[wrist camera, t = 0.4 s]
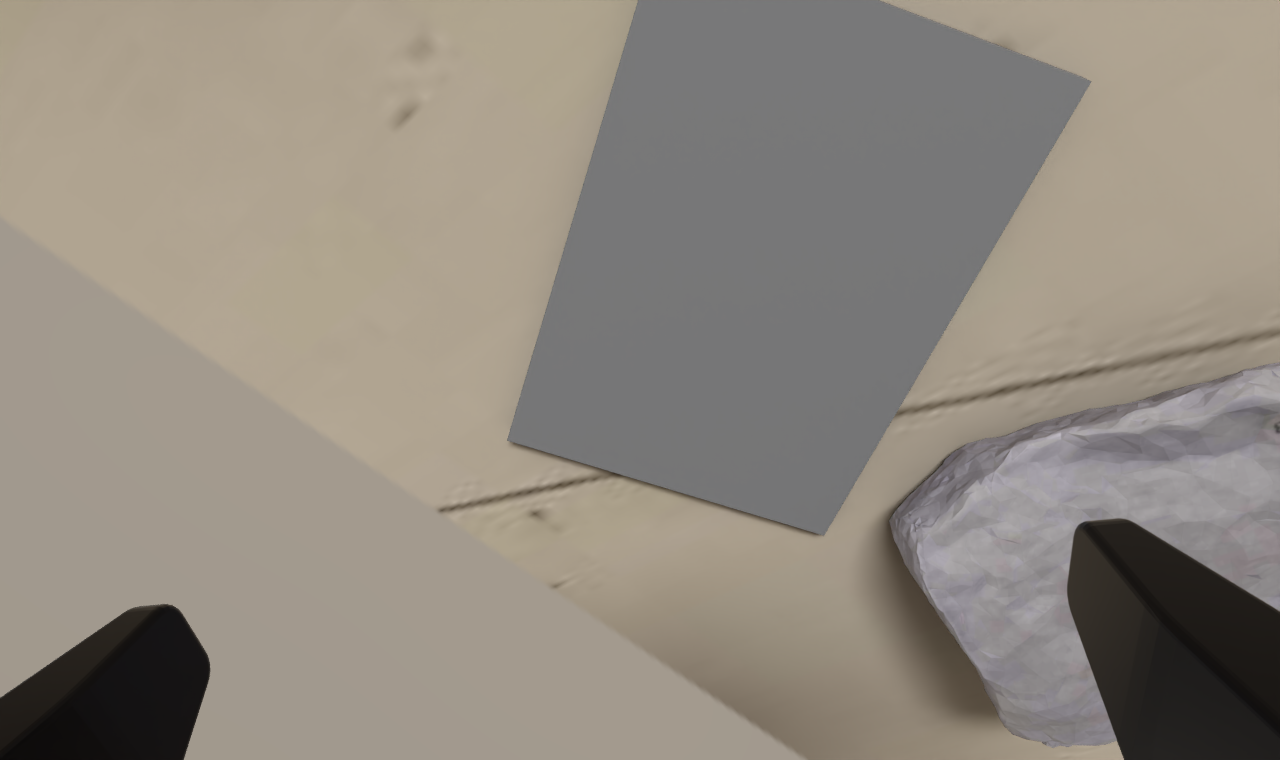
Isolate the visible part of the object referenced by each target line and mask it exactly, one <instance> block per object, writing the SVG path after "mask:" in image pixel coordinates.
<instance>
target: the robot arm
mask: <svg viewBox="0 0 1280 760" xmlns="http://www.w3.org/2000/svg"><path fill="white" fill-rule="evenodd" d="M1067 597H1068V603H1069V608H1070V611H1071V614H1072V617H1073V620H1074V623H1075V626H1076V628H1077V631H1078V634H1079V637H1080V639H1081V642H1082V645H1083V648H1084V651H1085V653H1086V656H1087V659H1088V662H1089V664H1090V667H1091V670H1092V673H1093V676H1094V678H1095V681H1096V684H1097V687H1098V689H1099V692H1100V695H1101V698H1102V700H1103V703H1104V706H1105V709H1106V712H1107V714H1108V717H1109V720H1110V723H1111V725H1112V728H1113V731H1114V734H1115V736H1116V739H1117V742H1118V745H1119V747H1120V750H1121V752H1122V755H1123V758H1124V760H1280V611H1279V610H1277V609H1276V608H1274V607H1272V606H1271V605H1269V604H1267V603H1266V602H1264V601H1262V600H1261V599H1259V598H1257V597H1256V596H1254V595H1253V594H1251V593H1249V592H1248V591H1246V590H1244V589H1243V588H1241V587H1239V586H1238V585H1236V584H1235V583H1233V582H1231V581H1230V580H1228V579H1226V578H1225V577H1223V576H1221V575H1220V574H1218V573H1217V572H1215V571H1213V570H1212V569H1210V568H1208V567H1207V566H1205V565H1203V564H1202V563H1200V562H1198V561H1197V560H1195V559H1194V558H1192V557H1190V556H1189V555H1187V554H1185V553H1184V552H1182V551H1180V550H1179V549H1177V548H1176V547H1174V546H1172V545H1171V544H1169V543H1167V542H1166V541H1164V540H1162V539H1161V538H1159V537H1158V536H1156V535H1154V534H1153V533H1151V532H1149V531H1148V530H1146V529H1144V528H1143V527H1141V526H1139V525H1138V524H1136V523H1134V522H1132V521H1130V520H1127V519H1122V518H1115V519H1104V520H1093V521H1085V522H1082V523H1080V524H1079V525H1078V526H1077V528H1076V529H1075V532H1074V536H1073V543H1072V551H1071V559H1070V566H1069V574H1068V582H1067ZM209 676H210V662H209V658H208V655H207V653H206V652H205V650H204V648H203V646H202V645H201V643H200V642H199V640H198V638H197V637H196V635H195V633H194V632H193V630H192V629H191V627H190V625H189V624H188V622H187V621H186V619H185V617H184V616H183V614H182V613H181V612H180V610H179V609H177V608H176V607H174V606H173V605H168V604H161V605H150V606H139V607H135V608H132V609H130V610H127V611H126V612H124V613H123V614H121V615H120V616H118V617H117V618H116V619H114V620H113V621H111V622H110V623H109V624H107V625H105V626H104V627H102V628H101V629H99V630H98V631H97V632H95V633H94V634H92V635H91V636H89V637H88V638H86V639H85V640H84V641H82V642H81V643H79V644H78V645H76V646H75V647H73V648H72V649H70V650H69V651H68V652H66V653H65V654H63V655H62V656H60V657H59V658H57V659H56V660H54V661H53V662H52V663H50V664H49V665H47V666H46V667H44V668H43V669H41V670H40V671H39V672H37V673H36V674H34V675H33V676H32V677H30V678H28V679H27V680H25V681H24V682H22V683H21V684H20V685H18V686H17V687H16V688H14V689H12V690H11V691H10V692H8V693H7V694H5V695H4V696H2V697H1V698H0V760H184V757H185V754H186V750H187V747H188V744H189V741H190V738H191V735H192V732H193V728H194V725H195V722H196V719H197V716H198V713H199V709H200V706H201V703H202V700H203V697H204V694H205V691H206V688H207V684H208V680H209Z"/></svg>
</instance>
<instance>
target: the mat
mask: <svg viewBox="0 0 1280 760" xmlns="http://www.w3.org/2000/svg"><path fill="white" fill-rule="evenodd" d="M1090 83H1091V81H1089V80H1087V79H1085V78H1083V77H1081V76H1078V75H1075V74H1073V73H1070V72H1067V71H1065V70H1062V69H1059V68H1057V67H1054V66H1052V65H1049V64H1046V63H1044V62H1041V61H1038V60H1036V59H1033V58H1030V57H1028V56H1025V55H1022V54H1020V53H1017V52H1014V51H1012V50H1009V49H1007V48H1004V47H1001V46H999V45H996V44H993V43H991V42H988V41H985V40H983V39H980V38H977V37H975V36H972V35H969V34H967V33H964V32H962V31H959V30H956V29H954V28H951V27H948V26H946V25H943V24H940V23H938V22H935V21H932V20H930V19H927V18H924V17H922V16H919V15H917V14H914V13H911V12H909V11H906V10H903V9H901V8H898V7H895V6H893V5H890V4H887V3H885V2H882V1H879V0H638V3H637V6H636V10H635V13H634V16H633V20H632V23H631V27H630V30H629V33H628V37H627V40H626V43H625V47H624V50H623V53H622V57H621V60H620V63H619V67H618V70H617V74H616V77H615V80H614V84H613V87H612V90H611V94H610V97H609V100H608V104H607V107H606V110H605V114H604V117H603V120H602V124H601V127H600V131H599V134H598V137H597V141H596V144H595V147H594V151H593V154H592V157H591V161H590V164H589V167H588V171H587V174H586V178H585V181H584V184H583V188H582V191H581V194H580V198H579V201H578V204H577V208H576V211H575V214H574V218H573V221H572V224H571V228H570V231H569V235H568V238H567V241H566V245H565V248H564V251H563V255H562V258H561V261H560V265H559V268H558V271H557V275H556V278H555V281H554V285H553V288H552V292H551V295H550V298H549V302H548V305H547V308H546V312H545V315H544V318H543V322H542V325H541V328H540V332H539V335H538V339H537V342H536V345H535V349H534V352H533V355H532V359H531V362H530V365H529V369H528V372H527V375H526V379H525V382H524V385H523V389H522V392H521V396H520V399H519V402H518V406H517V409H516V412H515V416H514V419H513V422H512V426H511V429H510V432H509V436H508V439H507V441H511V442H514V443H517V444H521V445H524V446H527V447H531V448H534V449H537V450H541V451H544V452H547V453H551V454H554V455H557V456H561V457H564V458H567V459H571V460H574V461H577V462H581V463H584V464H587V465H591V466H594V467H597V468H600V469H604V470H607V471H610V472H614V473H617V474H620V475H624V476H627V477H630V478H634V479H637V480H640V481H644V482H647V483H650V484H654V485H657V486H660V487H664V488H667V489H670V490H674V491H677V492H680V493H684V494H687V495H690V496H694V497H697V498H700V499H704V500H707V501H710V502H714V503H717V504H720V505H724V506H727V507H730V508H734V509H737V510H740V511H744V512H747V513H750V514H754V515H757V516H760V517H764V518H767V519H770V520H774V521H777V522H780V523H784V524H787V525H790V526H794V527H797V528H800V529H804V530H807V531H810V532H814V533H817V534H820V535H825V533H826V531H827V530H828V528H829V526H830V525H831V523H832V521H833V519H834V518H835V516H836V514H837V513H838V511H839V509H840V508H841V506H842V504H843V502H844V501H845V499H846V497H847V496H848V494H849V492H850V491H851V489H852V487H853V485H854V484H855V482H856V480H857V479H858V477H859V475H860V474H861V472H862V470H863V469H864V467H865V465H866V463H867V462H868V460H869V458H870V457H871V455H872V453H873V452H874V450H875V448H876V446H877V445H878V443H879V441H880V440H881V438H882V436H883V435H884V433H885V431H886V429H887V428H888V426H889V424H890V423H891V421H892V419H893V418H894V416H895V414H896V412H897V411H898V409H899V407H900V406H901V404H902V402H903V401H904V399H905V397H906V395H907V394H908V392H909V390H910V389H911V387H912V385H913V384H914V382H915V380H916V379H917V377H918V375H919V373H920V372H921V370H922V368H923V367H924V365H925V363H926V362H927V360H928V358H929V356H930V355H931V353H932V351H933V350H934V348H935V346H936V345H937V343H938V341H939V339H940V338H941V336H942V334H943V333H944V331H945V329H946V328H947V326H948V324H949V322H950V321H951V319H952V317H953V316H954V314H955V312H956V311H957V309H958V307H959V305H960V304H961V302H962V300H963V299H964V297H965V295H966V294H967V292H968V290H969V288H970V287H971V285H972V283H973V282H974V280H975V278H976V277H977V275H978V273H979V272H980V270H981V268H982V266H983V265H984V263H985V261H986V260H987V258H988V256H989V255H990V253H991V251H992V249H993V248H994V246H995V244H996V243H997V241H998V239H999V238H1000V236H1001V234H1002V232H1003V231H1004V229H1005V227H1006V226H1007V224H1008V222H1009V221H1010V219H1011V217H1012V215H1013V214H1014V212H1015V210H1016V209H1017V207H1018V205H1019V204H1020V202H1021V200H1022V198H1023V197H1024V195H1025V193H1026V192H1027V190H1028V188H1029V187H1030V185H1031V183H1032V182H1033V180H1034V178H1035V176H1036V175H1037V173H1038V171H1039V170H1040V168H1041V166H1042V165H1043V163H1044V161H1045V159H1046V158H1047V156H1048V154H1049V153H1050V151H1051V149H1052V148H1053V146H1054V144H1055V142H1056V141H1057V139H1058V137H1059V136H1060V134H1061V132H1062V131H1063V129H1064V127H1065V125H1066V124H1067V122H1068V120H1069V119H1070V117H1071V115H1072V114H1073V112H1074V110H1075V108H1076V107H1077V105H1078V103H1079V102H1080V100H1081V98H1082V97H1083V95H1084V93H1085V92H1086V90H1087V88H1088V86H1089V85H1090Z"/></svg>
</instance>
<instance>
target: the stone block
mask: <svg viewBox="0 0 1280 760" xmlns="http://www.w3.org/2000/svg"><path fill="white" fill-rule="evenodd" d="M1115 518H1122V519H1127V520H1130V521H1132V522H1134V523H1136V524H1138V525H1139V526H1141V527H1143V528H1144V529H1146V530H1148V531H1149V532H1151V533H1153V534H1154V535H1156V536H1158V537H1159V538H1161V539H1162V540H1164V541H1166V542H1167V543H1169V544H1171V545H1172V546H1174V547H1176V548H1177V549H1179V550H1180V551H1182V552H1184V553H1185V554H1187V555H1189V556H1190V557H1192V558H1194V559H1195V560H1197V561H1198V562H1200V563H1202V564H1203V565H1205V566H1207V567H1208V568H1210V569H1212V570H1213V571H1215V572H1217V573H1218V574H1220V575H1221V576H1223V577H1225V578H1226V579H1228V580H1230V581H1231V582H1233V583H1235V584H1236V585H1238V586H1239V587H1241V588H1243V589H1244V590H1246V591H1248V592H1249V593H1251V594H1253V595H1254V596H1256V597H1257V598H1259V599H1261V600H1262V601H1264V602H1266V603H1267V604H1269V605H1271V606H1272V607H1274V608H1276V609H1277V610H1279V611H1280V363H1274V364H1268V365H1263V366H1259V367H1256V368H1254V369H1245V370H1243V371H1240V372H1238V373H1236V374H1233V375H1230V376H1226V377H1222V378H1219V379H1216V380H1213V381H1210V382H1207V383H1200V384H1194V385H1189V386H1185V387H1182V388H1179V389H1176V390H1170V391H1165V392H1163V393H1160V394H1158V395H1155V396H1153V397H1150V398H1148V399H1145V400H1141V401H1137V402H1132V403H1128V404H1124V405H1115V406H1109V407H1104V408H1096V409H1088V410H1085V411H1081V412H1078V413H1074V414H1071V415H1067V416H1063V417H1059V418H1055V419H1052V420H1048V421H1044V422H1040V423H1037V424H1034V425H1031V426H1029V427H1026V428H1023V429H1021V430H1018V431H1016V432H1014V433H1011V434H1009V435H1007V436H1003V437H997V438H985V439H983V440H980V441H976V442H972V443H968V444H966V445H964V446H963V447H961V448H960V449H958V450H957V451H955V452H953V453H952V454H951V455H950V456H949V457H948V458H946V459H945V461H944V462H943V464H942V465H941V466H940V467H939V468H938V469H937V471H936V472H935V473H933V474H932V475H931V476H930V477H929V478H928V479H927V480H925V481H924V482H923V483H922V484H921V485H920V486H919V487H918V488H917V489H916V490H915V491H914V492H912V493H911V494H910V495H909V496H908V497H907V498H906V499H905V501H904V502H903V503H902V504H901V505H900V506H899V507H898V508H897V510H896V511H895V512H894V514H893V515H892V516H891V518H890V521H889V523H890V526H891V530H892V535H893V538H894V541H895V543H896V545H897V546H898V549H899V551H900V553H901V555H902V558H903V560H904V564H905V565H906V567H907V568H908V570H909V572H910V574H911V575H912V576H913V578H914V579H915V581H916V582H917V583H918V585H919V586H920V588H921V589H922V591H923V592H924V594H925V595H926V597H927V599H928V601H929V603H930V604H931V605H932V606H933V607H934V609H935V610H936V612H937V614H938V615H939V617H940V618H941V620H942V621H943V623H944V624H945V625H946V627H947V628H948V630H949V631H950V633H951V634H952V635H953V636H954V638H955V639H956V641H957V642H958V644H959V645H960V647H961V648H962V649H963V651H964V652H965V653H966V655H967V656H968V657H969V659H970V661H971V663H972V664H973V665H974V666H975V667H976V669H977V671H978V674H979V676H980V678H981V680H982V682H983V683H984V688H985V691H986V693H987V694H988V696H989V698H990V699H991V701H992V703H993V704H994V706H995V708H996V710H997V713H998V716H999V718H1000V720H1001V721H1002V723H1003V724H1004V726H1005V727H1006V728H1007V729H1008V730H1009V731H1010V732H1011V733H1012V734H1013V735H1016V736H1019V737H1021V738H1024V739H1028V740H1034V741H1040V742H1042V743H1043V744H1045V745H1047V746H1050V747H1052V748H1054V747H1057V746H1059V745H1060V746H1066V747H1069V746H1072V745H1095V746H1097V745H1105V744H1109V743H1112V742H1114V741H1117V739H1116V736H1115V734H1114V731H1113V728H1112V725H1111V723H1110V720H1109V717H1108V714H1107V712H1106V709H1105V706H1104V703H1103V700H1102V698H1101V695H1100V692H1099V689H1098V687H1097V684H1096V681H1095V678H1094V676H1093V673H1092V670H1091V667H1090V664H1089V662H1088V659H1087V656H1086V653H1085V651H1084V648H1083V645H1082V642H1081V639H1080V637H1079V634H1078V631H1077V628H1076V626H1075V623H1074V620H1073V617H1072V614H1071V611H1070V608H1069V603H1068V597H1067V582H1068V574H1069V566H1070V559H1071V551H1072V543H1073V536H1074V532H1075V529H1076V528H1077V526H1078V525H1079V524H1080V523H1082V522H1085V521H1093V520H1104V519H1115Z"/></svg>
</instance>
